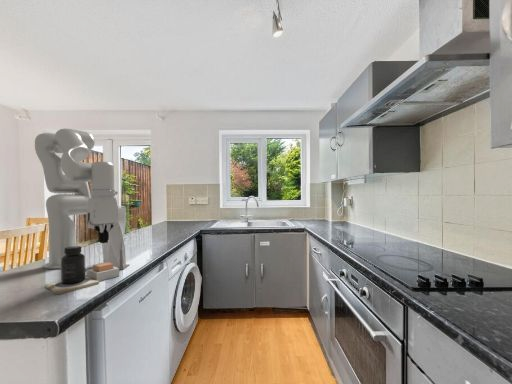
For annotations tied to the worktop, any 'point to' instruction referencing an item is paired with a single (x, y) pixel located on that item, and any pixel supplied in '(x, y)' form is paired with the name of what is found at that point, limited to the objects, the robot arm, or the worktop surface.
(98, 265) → the button
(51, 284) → the cream square coaster
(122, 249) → the skyscraper
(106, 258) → the drinking glass
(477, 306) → the worktop surface
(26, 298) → the worktop surface
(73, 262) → the supplement bottle
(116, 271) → the button housing
